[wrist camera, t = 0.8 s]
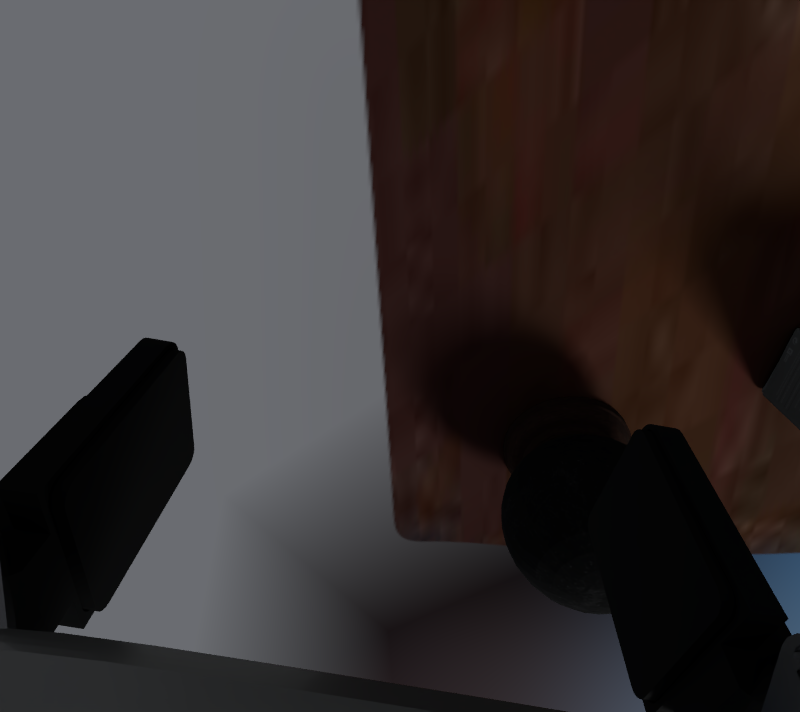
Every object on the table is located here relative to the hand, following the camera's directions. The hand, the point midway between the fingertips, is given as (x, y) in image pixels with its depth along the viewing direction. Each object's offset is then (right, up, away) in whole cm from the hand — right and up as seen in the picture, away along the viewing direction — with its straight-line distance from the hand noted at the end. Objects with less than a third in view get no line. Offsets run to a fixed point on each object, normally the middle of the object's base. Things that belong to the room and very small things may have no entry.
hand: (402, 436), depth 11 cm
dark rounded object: (+15, -6, +36) cm, 40 cm away
